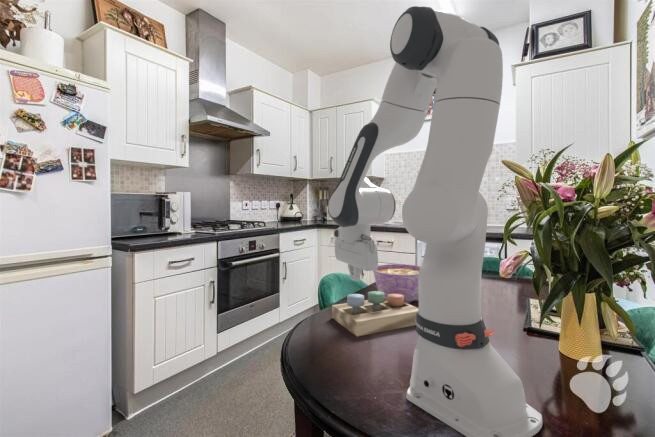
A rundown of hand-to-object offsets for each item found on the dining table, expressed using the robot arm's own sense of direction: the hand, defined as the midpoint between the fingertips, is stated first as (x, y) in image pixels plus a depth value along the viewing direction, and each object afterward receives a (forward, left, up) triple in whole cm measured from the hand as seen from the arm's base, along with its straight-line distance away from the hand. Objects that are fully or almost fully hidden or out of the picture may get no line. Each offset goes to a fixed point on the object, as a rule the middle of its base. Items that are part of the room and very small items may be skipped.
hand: (354, 280), depth 96 cm
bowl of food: (+14, -26, -13) cm, 32 cm away
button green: (0, -7, -10) cm, 13 cm away
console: (0, -7, -13) cm, 15 cm away
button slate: (0, 0, -10) cm, 11 cm away
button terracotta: (0, -14, -12) cm, 19 cm away
